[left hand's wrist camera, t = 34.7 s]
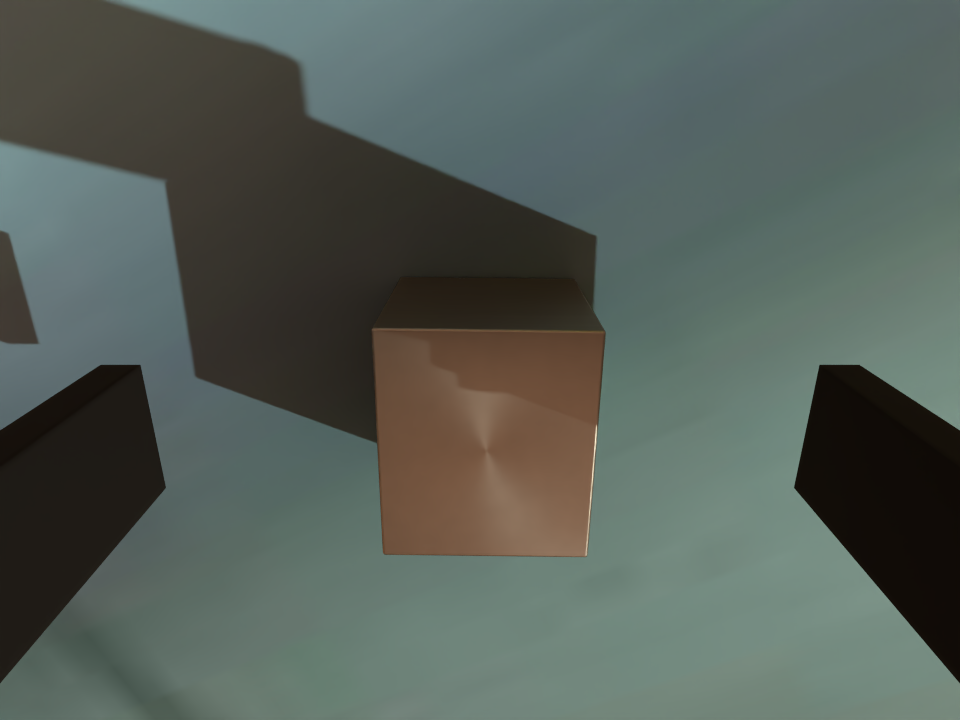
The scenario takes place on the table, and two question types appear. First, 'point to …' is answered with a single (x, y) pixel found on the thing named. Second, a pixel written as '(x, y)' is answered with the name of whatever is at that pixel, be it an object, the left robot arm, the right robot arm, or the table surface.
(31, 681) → the table surface
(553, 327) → the brick
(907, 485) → the left robot arm
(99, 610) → the table surface
